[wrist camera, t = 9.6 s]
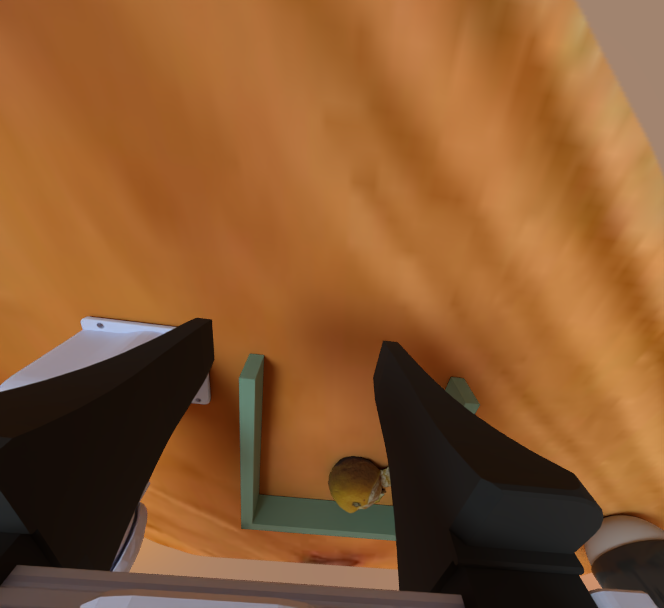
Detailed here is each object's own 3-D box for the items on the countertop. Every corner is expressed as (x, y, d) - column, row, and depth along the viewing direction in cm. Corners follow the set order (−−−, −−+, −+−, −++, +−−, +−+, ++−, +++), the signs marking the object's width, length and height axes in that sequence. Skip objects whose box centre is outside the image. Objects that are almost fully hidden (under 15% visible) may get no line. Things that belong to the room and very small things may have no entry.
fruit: (375, 501, 33) (379, 537, 30) (314, 481, 32) (312, 518, 28) (415, 463, 30) (425, 500, 27) (350, 440, 28) (352, 475, 25)
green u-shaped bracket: (248, 499, 33) (241, 528, 30) (249, 353, 23) (239, 377, 21) (401, 512, 34) (407, 541, 31) (463, 378, 24) (479, 404, 22)
